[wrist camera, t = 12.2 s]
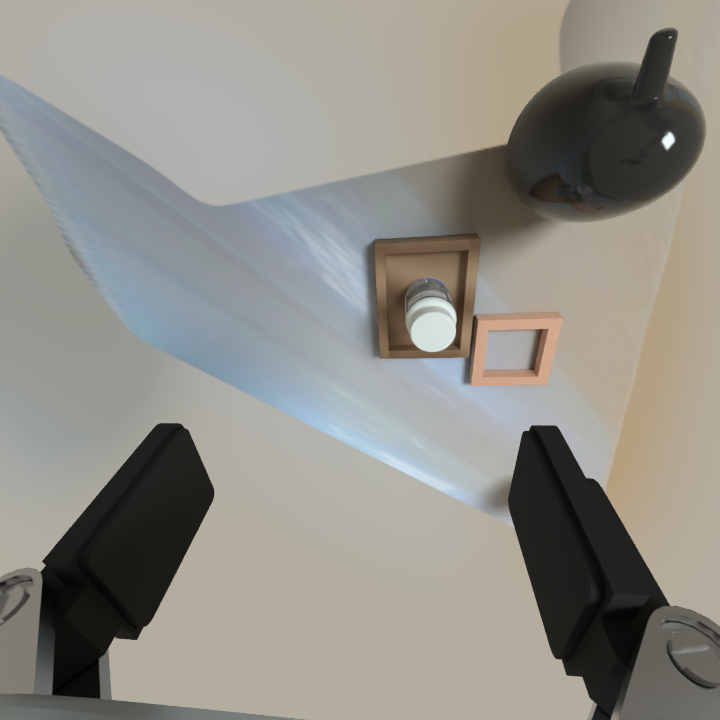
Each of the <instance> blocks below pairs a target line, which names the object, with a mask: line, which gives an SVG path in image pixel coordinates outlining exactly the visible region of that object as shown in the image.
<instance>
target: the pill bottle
mask: <svg viewBox="0 0 720 720" xmlns="http://www.w3.org/2000/svg"><path fill="white" fill-rule="evenodd" d="M405 318H406V327H407V330H408V332H409V334H410V336H411V339H412V341H413V343H414V344H415V345H416V346H417V347H418V348H419V349H421V350H423V351H427V352H438V351H441V350H443V349H445V348H447V347H448V346H449V345H450V344H451V343H452V342H453V340H454V338H455V335H456V321H457V318H456V312H455V309H454V306H453V303H452V300H451V297H450V294H449V291H448V289H447V287H446V285H445V284H444V283H443V282H442V281H440V280H438V279H436V278H432V277H424V278H420V279H418V280H416V281H415V282H413V283H412V284H411V285H410V286H409V288H408V289H407V292H406V295H405Z"/></svg>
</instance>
